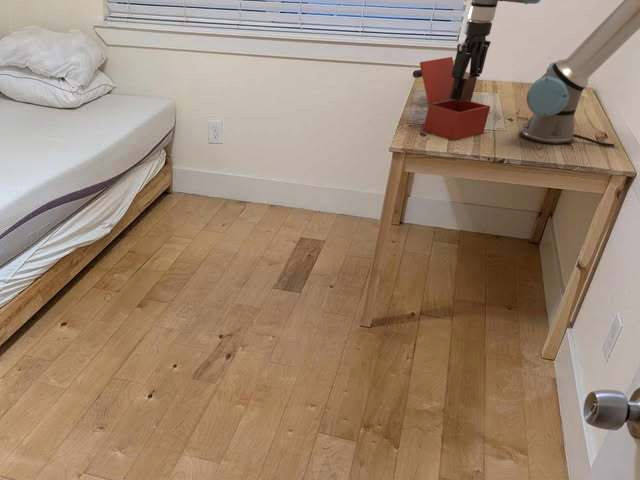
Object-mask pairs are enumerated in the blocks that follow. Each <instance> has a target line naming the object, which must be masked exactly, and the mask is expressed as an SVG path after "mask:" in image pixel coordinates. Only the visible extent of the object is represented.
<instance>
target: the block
mask: <svg viewBox="0 0 640 480" xmlns="http://www.w3.org/2000/svg"><path fill="white" fill-rule="evenodd" d="M463 79H464V83H463V87H462V91H461V95H460V100H457V101H461V102H462V101H467V100H471V101H472V100H473V95H474V92H475V88H476V84H477V80H478V77H473V76H469V75H465V74H464V77H463ZM454 83H455V78H454V81H453V85H452V89H451V93H450V97H449V98H450V99H451V97H452V93H453V87H454Z"/></svg>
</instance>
